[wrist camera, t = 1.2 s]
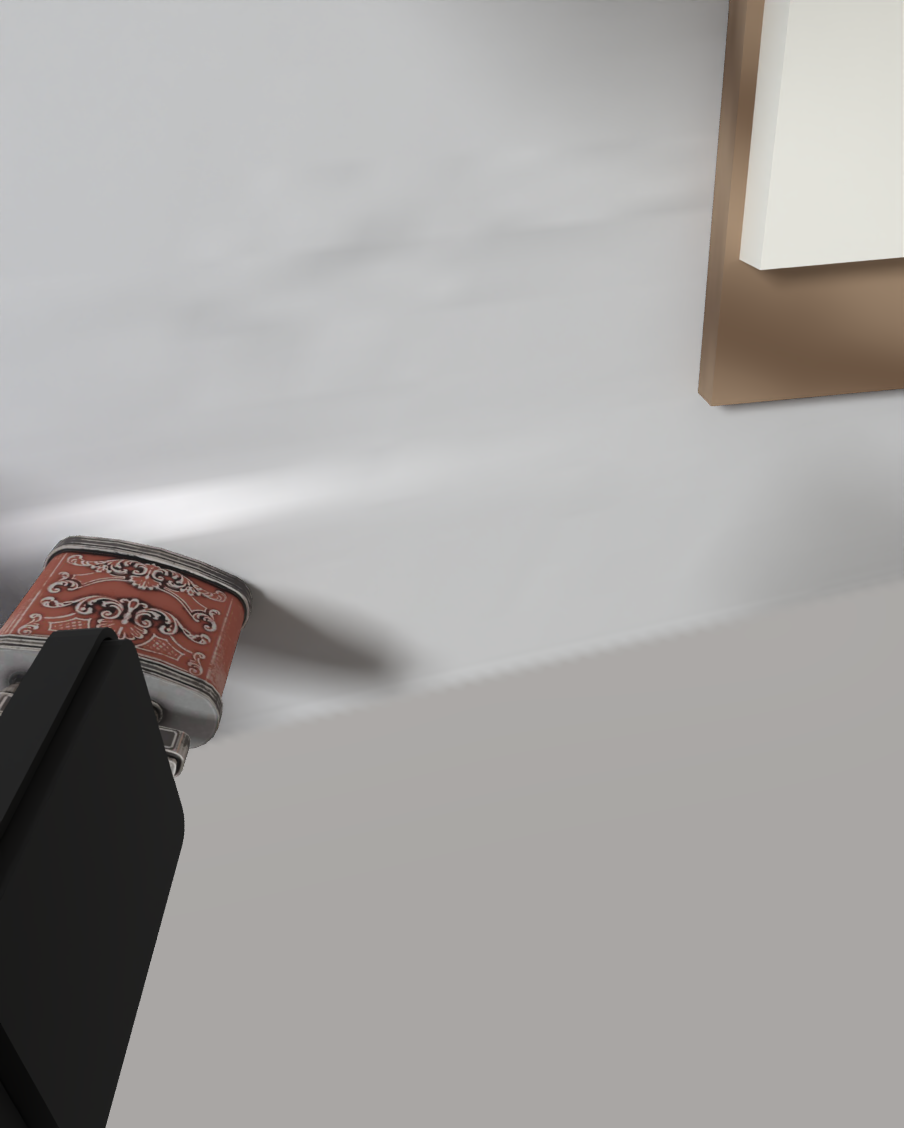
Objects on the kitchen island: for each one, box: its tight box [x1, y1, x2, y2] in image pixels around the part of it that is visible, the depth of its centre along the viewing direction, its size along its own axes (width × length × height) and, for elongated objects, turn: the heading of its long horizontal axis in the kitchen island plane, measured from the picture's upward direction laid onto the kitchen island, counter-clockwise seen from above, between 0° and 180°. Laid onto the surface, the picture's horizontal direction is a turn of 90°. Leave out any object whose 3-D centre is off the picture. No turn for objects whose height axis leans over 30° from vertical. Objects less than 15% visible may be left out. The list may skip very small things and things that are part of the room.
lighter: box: [0, 536, 252, 777], centre depth 29 cm, size 8×3×10 cm, turn 70°
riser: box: [698, 0, 904, 406], centre depth 26 cm, size 18×10×2 cm, turn 4°
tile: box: [739, 0, 904, 270], centre depth 24 cm, size 8×6×2 cm
